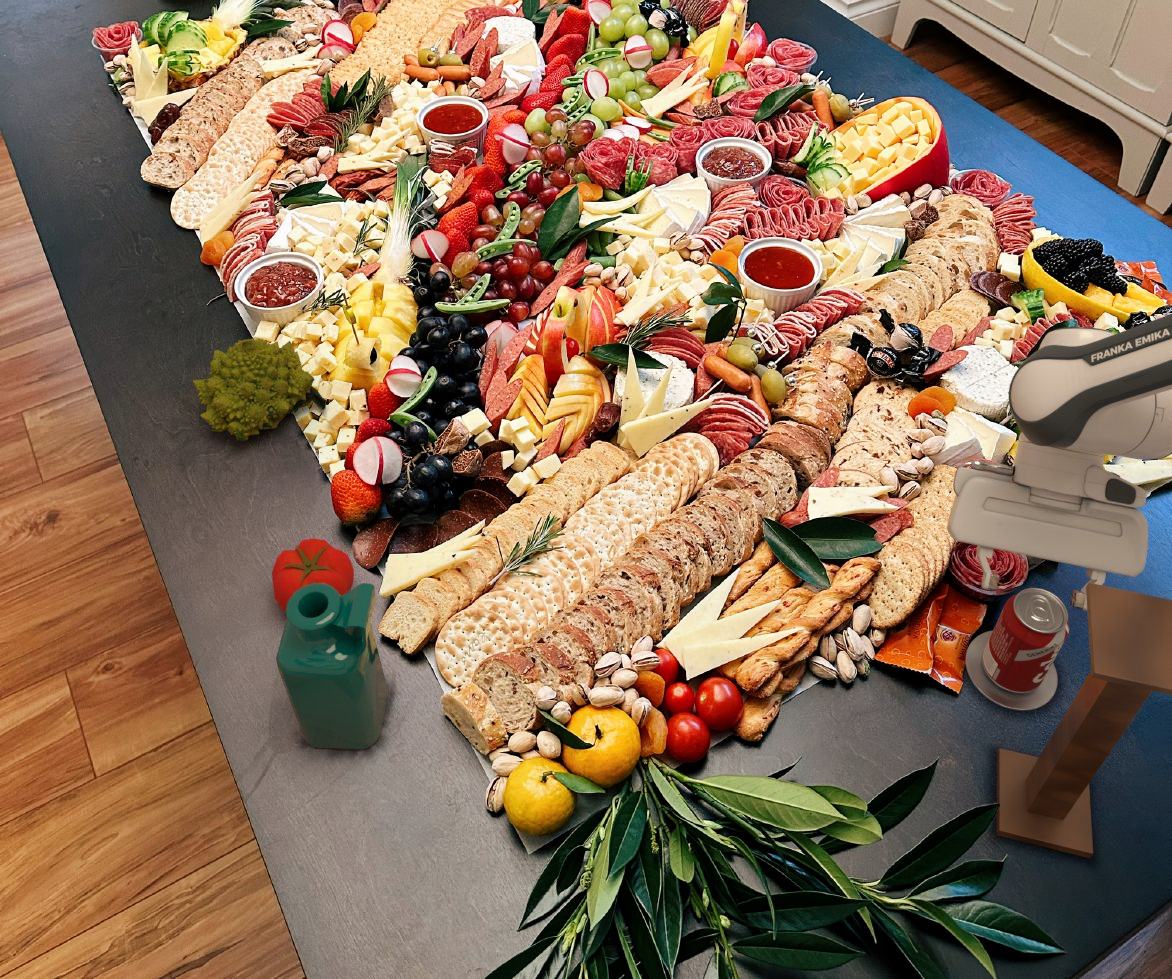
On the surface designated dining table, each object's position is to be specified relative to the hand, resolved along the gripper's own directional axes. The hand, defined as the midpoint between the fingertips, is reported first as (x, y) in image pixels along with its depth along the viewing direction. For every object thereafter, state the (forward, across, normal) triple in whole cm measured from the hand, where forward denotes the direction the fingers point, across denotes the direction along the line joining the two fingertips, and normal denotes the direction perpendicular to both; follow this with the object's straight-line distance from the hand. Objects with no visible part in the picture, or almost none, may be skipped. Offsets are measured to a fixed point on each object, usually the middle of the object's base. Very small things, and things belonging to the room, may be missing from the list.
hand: (1033, 599), depth 122 cm
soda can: (+9, 0, +4) cm, 10 cm away
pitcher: (+26, -70, -12) cm, 76 cm away
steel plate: (+9, 0, +5) cm, 10 cm away
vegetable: (-1, -101, +15) cm, 102 cm away
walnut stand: (+20, +3, -6) cm, 21 cm away
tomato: (+17, -80, -3) cm, 82 cm away
